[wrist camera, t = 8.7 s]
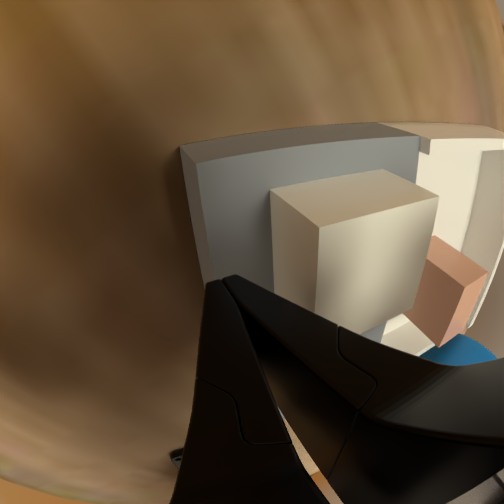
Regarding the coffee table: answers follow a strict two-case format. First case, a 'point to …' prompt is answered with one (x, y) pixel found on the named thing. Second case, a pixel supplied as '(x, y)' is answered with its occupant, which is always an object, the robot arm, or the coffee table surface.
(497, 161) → the tray
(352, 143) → the slate plate
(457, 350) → the alarm clock
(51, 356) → the coffee table surface
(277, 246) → the cream block
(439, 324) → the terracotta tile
